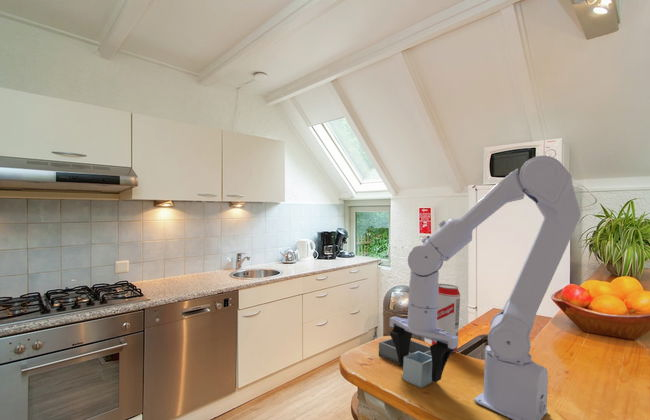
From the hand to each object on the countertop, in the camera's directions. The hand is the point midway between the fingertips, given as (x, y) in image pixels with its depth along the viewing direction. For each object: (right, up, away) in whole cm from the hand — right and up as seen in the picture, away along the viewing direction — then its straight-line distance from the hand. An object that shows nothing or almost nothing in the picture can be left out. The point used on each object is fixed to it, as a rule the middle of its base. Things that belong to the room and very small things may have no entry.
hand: (419, 372), depth 66 cm
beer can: (+11, -3, +17) cm, 21 cm away
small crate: (0, -2, 0) cm, 2 cm away
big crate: (0, -2, +10) cm, 10 cm away
